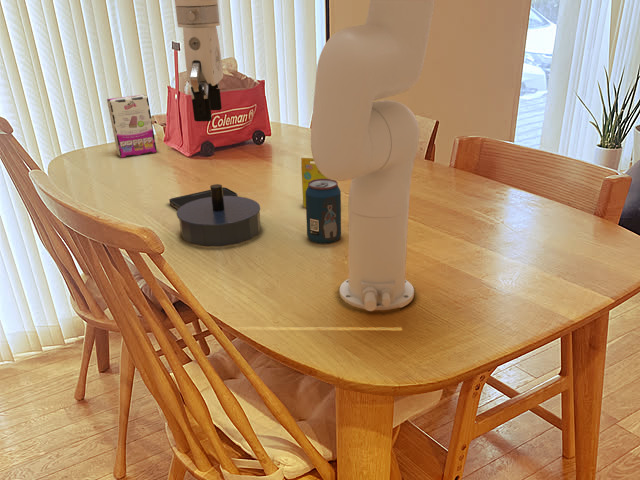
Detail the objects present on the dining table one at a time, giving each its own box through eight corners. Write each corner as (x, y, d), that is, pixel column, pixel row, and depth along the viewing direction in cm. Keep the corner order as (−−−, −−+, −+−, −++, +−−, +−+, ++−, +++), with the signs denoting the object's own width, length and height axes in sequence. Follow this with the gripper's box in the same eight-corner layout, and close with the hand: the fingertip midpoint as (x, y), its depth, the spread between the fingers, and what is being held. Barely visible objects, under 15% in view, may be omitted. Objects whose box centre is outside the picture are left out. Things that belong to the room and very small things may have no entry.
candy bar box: (152, 149, 195) (144, 93, 187) (157, 152, 191) (148, 96, 183) (116, 154, 190) (106, 98, 182) (120, 158, 186) (109, 100, 178)
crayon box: (336, 206, 146) (336, 156, 140) (332, 210, 144) (332, 159, 138) (307, 203, 148) (305, 154, 142) (302, 207, 146) (300, 157, 140)
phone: (239, 194, 151) (181, 207, 144) (239, 199, 152) (181, 212, 144) (224, 186, 157) (167, 198, 150) (224, 190, 157) (168, 203, 150)
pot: (254, 248, 126) (252, 225, 123) (173, 248, 127) (170, 225, 124) (264, 219, 140) (263, 198, 137) (192, 219, 141) (189, 198, 138)
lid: (254, 229, 123) (251, 199, 120) (167, 229, 124) (163, 200, 121) (265, 200, 138) (263, 173, 135) (188, 200, 139) (184, 173, 136)
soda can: (319, 231, 133) (318, 175, 127) (347, 238, 129) (347, 181, 123) (300, 242, 128) (298, 185, 122) (328, 249, 124) (327, 190, 118)
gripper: (208, 20, 105) (219, 125, 113) (227, 12, 120) (235, 105, 128) (164, 21, 105) (178, 126, 114) (188, 13, 120) (199, 106, 129)
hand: (208, 115), depth 121 cm, fingers open, 9 cm apart
